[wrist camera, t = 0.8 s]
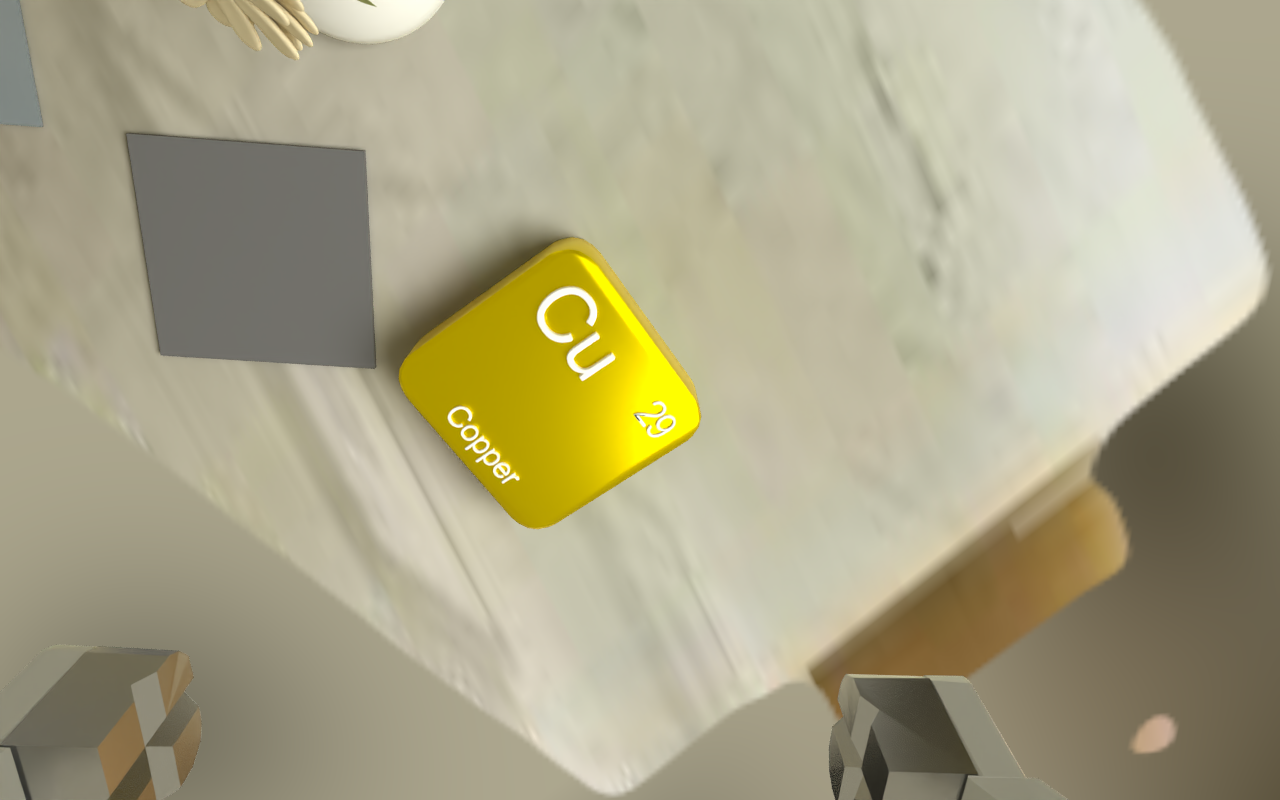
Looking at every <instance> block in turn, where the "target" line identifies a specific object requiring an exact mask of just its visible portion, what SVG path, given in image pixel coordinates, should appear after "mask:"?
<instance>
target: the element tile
mask: <svg viewBox="0 0 1280 800" xmlns="http://www.w3.org/2000/svg"><path fill="white" fill-rule="evenodd" d="M399 382H400V385H401V388H402V391H403V392H404V394H405V395H406V397H407V398H408V400H409V401H410V402H411V403H412V404H413V405H414V406H415V408H416V409H417V410H418V411H419V412H420V413H421V415H422V416H423V417H424V418H425V419H426V420H427V421H428V423H429V424H430V425H431V426H432V427H433V428H434V429H435V431H436V432H437V433H438V434H439V435H440V436H441V437H442V439H443V440H444V441H445V442H446V443H447V444H448V445H449V447H450V448H451V449H452V450H453V451H454V452H455V453H456V455H457V456H458V457H459V458H460V459H461V460H462V461H463V463H464V464H465V465H466V466H467V467H468V468H469V469H470V471H471V472H472V473H473V474H474V475H475V476H476V477H477V479H478V480H479V481H480V482H481V483H482V484H483V486H484V487H485V488H486V489H487V490H488V491H489V492H490V494H491V495H492V496H493V497H494V498H495V499H496V500H497V502H498V503H499V504H500V505H501V506H502V507H503V508H504V510H505V511H506V512H507V513H508V514H509V515H510V516H511V518H513V519H514V520H515V521H516V522H517V523H519V524H521V525H523V526H525V527H527V528H533V529H541V528H546V527H549V526H552V525H554V524H556V523H558V522H559V521H561V520H562V519H564V518H566V517H567V516H569V515H570V514H572V513H574V512H575V511H577V510H578V509H580V508H581V507H583V506H585V505H586V504H588V503H589V502H591V501H593V500H594V499H596V498H597V497H599V496H600V495H602V494H604V493H605V492H607V491H608V490H610V489H612V488H613V487H615V486H616V485H618V484H619V483H621V482H623V481H624V480H626V479H627V478H629V477H631V476H632V475H634V474H635V473H637V472H638V471H640V470H642V469H643V468H645V467H646V466H648V465H650V464H651V463H653V462H654V461H656V460H657V459H659V458H661V457H662V456H664V455H665V454H667V453H669V452H670V451H672V450H673V449H675V448H676V447H678V446H680V445H681V444H683V443H684V442H686V441H688V440H689V439H690V438H691V437H692V436H693V434H694V433H695V431H696V430H697V429H698V427H699V424H700V420H701V413H700V407H699V403H698V399H697V394H696V390H695V386H694V384H693V382H692V380H691V378H690V377H689V376H688V374H687V373H686V371H685V370H684V369H683V367H682V366H681V364H680V363H679V362H678V360H677V359H676V357H675V356H674V355H673V353H672V352H671V351H670V349H669V348H668V346H667V345H666V344H665V342H664V341H663V339H662V338H661V337H660V335H659V334H658V332H657V331H656V330H655V328H654V327H653V325H652V324H651V323H650V321H649V320H648V319H647V317H646V316H645V314H644V313H643V312H642V310H641V309H640V307H639V306H638V305H637V303H636V302H635V300H634V299H633V298H632V296H631V295H630V294H629V292H628V291H627V289H626V288H625V287H624V285H623V284H622V282H621V281H620V280H619V278H618V277H617V275H616V274H615V273H614V271H613V270H612V268H611V267H610V266H609V264H608V263H607V262H606V260H605V259H604V257H603V256H602V255H601V253H600V252H599V251H598V250H597V249H596V248H595V247H594V246H593V245H592V244H590V243H588V242H587V241H585V240H584V239H580V238H574V237H570V238H566V239H561V240H558V241H556V242H554V243H552V244H551V245H549V246H548V247H547V248H545V249H544V250H543V251H541V252H540V253H538V254H537V255H536V256H534V257H533V258H531V259H530V260H529V261H527V262H526V263H524V264H523V265H522V266H520V267H519V268H517V269H516V270H515V271H513V272H512V273H510V274H509V275H508V276H506V277H505V278H504V279H502V280H501V281H499V282H498V283H497V284H495V285H494V286H492V287H491V288H490V289H488V290H487V291H485V292H484V293H483V294H481V295H480V296H478V297H477V298H476V299H474V300H473V301H471V302H470V303H469V304H467V305H466V306H465V307H463V308H462V309H460V310H459V311H458V312H456V313H455V314H453V315H452V316H451V317H449V318H448V319H446V320H445V321H444V322H442V323H441V324H439V325H438V326H437V327H435V328H434V329H432V330H431V331H430V332H428V333H427V334H426V335H424V336H423V337H422V338H421V339H420V340H419V341H418V342H417V344H416V345H415V346H414V348H413V349H412V350H411V351H410V353H409V354H408V355H407V357H406V358H405V359H404V361H403V363H402V365H401V367H400V369H399Z"/></svg>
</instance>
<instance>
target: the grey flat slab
mask: <svg viewBox="0 0 1280 800" xmlns="http://www.w3.org/2000/svg"><path fill="white" fill-rule="evenodd" d="M0 124H8V125H21V126H35V127H43V123H42V118H41V112H40V107H39V102H38V97H37V91H36V86H35V81H34V76H33V70H32V65H31V60H30V55H29V49H28V44H27V39H26V34H25V29H24V23H23V18H22V13H21V8H20V2H19V0H0Z"/></svg>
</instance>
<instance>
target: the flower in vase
mask: <svg viewBox="0 0 1280 800" xmlns="http://www.w3.org/2000/svg"><path fill="white" fill-rule="evenodd" d="M180 1H181V2H182V3H184V4H185V5H187V6H189V7H193V8H196V7H200V6H202V5H204V4H205V3H206V5H207V8H208V10H209V12H210V13H211V14H212V16H213V17H214V18H215V19H216V20H217V21H219V22H220V23H222V24H223V25H225V26H228V27H232V28H233V30H234V31H235V32H236V34H237V35H238V36H239V38H240V39H241V40H242V41H243V42H244V43H245V44H246V45H247V46H249V47H250V48H252V49H253V50H256V51H260V50H261V48H262V45H261V41H260V38H259V36H258V34H257V31H256V30H255V28H254V24H256V25H257V26H258V27H259V29H260V30H261V31H262V32H263V33H264V35H265V36H266V37H267V38H268V39H269V40H270V41H271V43H272V44H273V45H274V46H275V47H276V48H277V49H278V50H279V51H280V52H281V53H282V54H284V55H285V56H287V57H288V58H292V59H294V60H299V54H298V52H297V50H300V51H301V50H302V49H303V46H302V43H303V44H305V45H307V46H309V47H313V43H312V40H311V38H310V36H309V34H308V33H307V31H309V32H310V33H313V34H315V35H318V34H319V32H321V33H323V34H325V35H328V36H330V37H332V38H335V39H339V40H342V41H345V42H351V43H357V44H378V43H386V42H389V41H393V40H397V39H399V38H402V37H404V36H406V35H409V34H410V33H412V32H414V31H415V30H417V29H418V28H420V27H421V26H423V25H424V24H425V23H426V22H427V21H428V20H429V19H431V18H432V16H433V15H434V14H435V13H436V12H437V11H438V9H439V8H440V7H441V5H442V4H443V2H444V1H445V0H180ZM305 29H306V30H307V31H306V30H305ZM301 42H302V43H301Z"/></svg>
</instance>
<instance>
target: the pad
mask: <svg viewBox="0 0 1280 800" xmlns="http://www.w3.org/2000/svg"><path fill="white" fill-rule="evenodd" d="M126 135H127V141H128V148H129V154H130V161H131V167H132V174H133V180H134V186H135V193H136V199H137V206H138V212H139V219H140V225H141V232H142V238H143V244H144V251H145V257H146V264H147V270H148V277H149V283H150V290H151V296H152V302H153V309H154V315H155V322H156V328H157V335H158V341H159V348H160V354H161V355H163V356H179V357H195V358H211V359H227V360H243V361H259V362H275V363H291V364H307V365H323V366H339V367H355V368H371V369H375V368H376V354H375V334H374V314H373V294H372V274H371V254H370V234H369V214H368V194H367V174H366V155H365V151H360V150H347V149H333V148H320V147H307V146H293V145H280V144H266V143H253V142H240V141H226V140H213V139H200V138H186V137H173V136H160V135H146V134H133V133H127V134H126Z"/></svg>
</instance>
